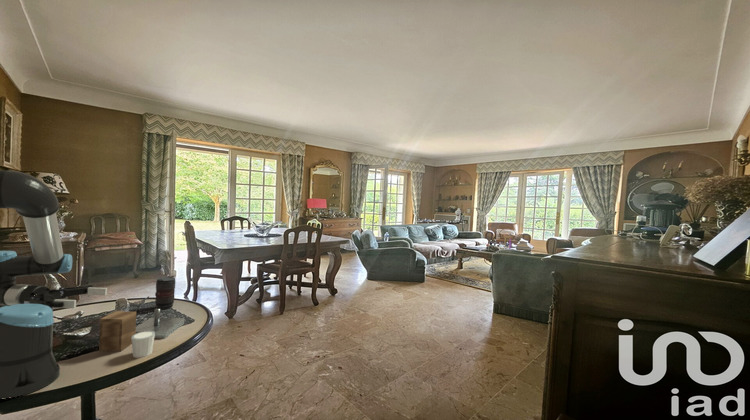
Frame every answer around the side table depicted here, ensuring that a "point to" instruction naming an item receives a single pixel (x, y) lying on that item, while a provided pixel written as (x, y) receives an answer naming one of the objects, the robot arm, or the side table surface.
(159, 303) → the camera lens
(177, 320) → the joystick
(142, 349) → the pale grey tapered cylinder
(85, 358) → the side table surface
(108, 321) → the wooden brick
